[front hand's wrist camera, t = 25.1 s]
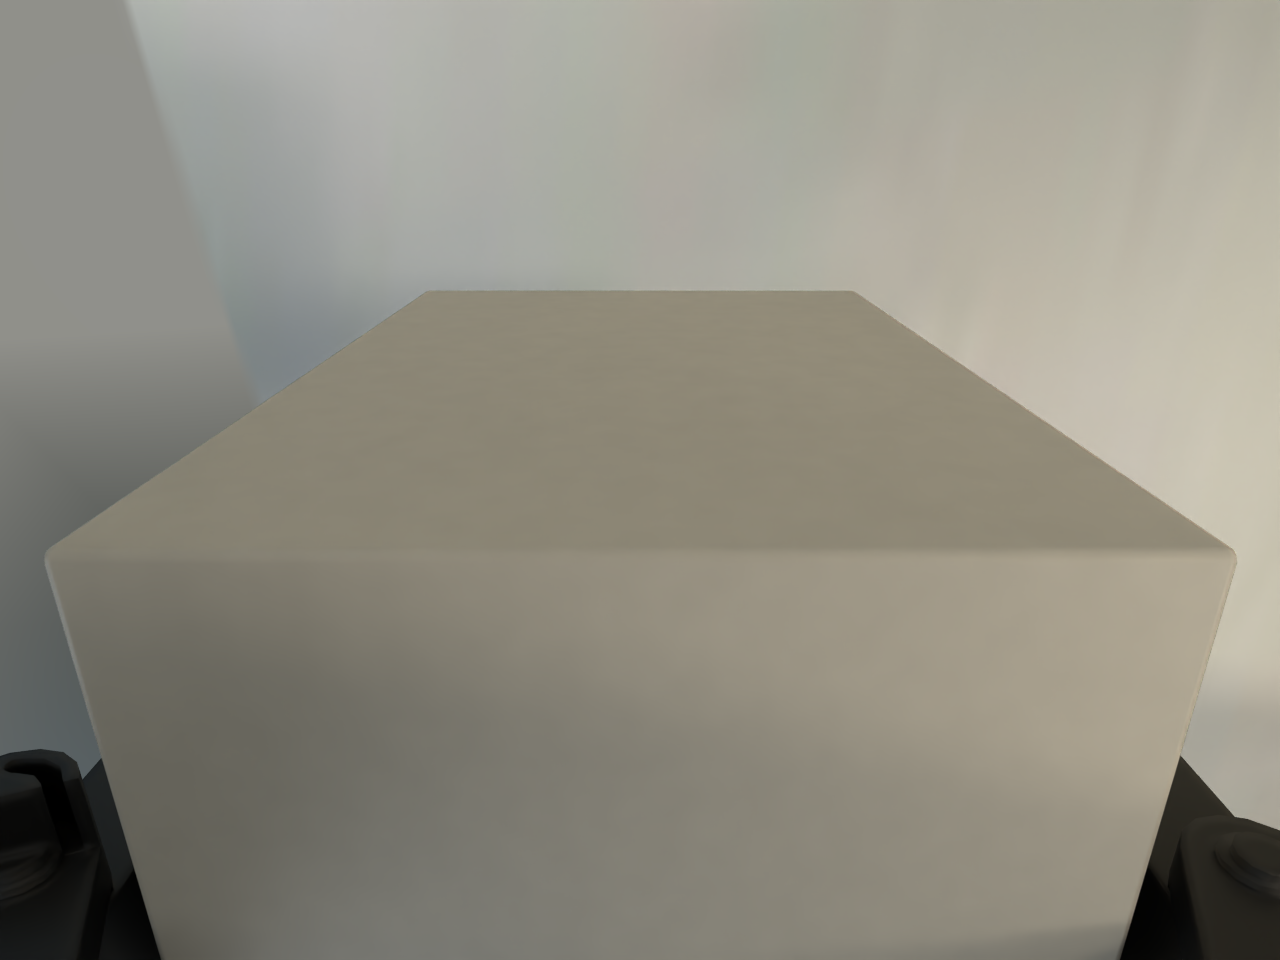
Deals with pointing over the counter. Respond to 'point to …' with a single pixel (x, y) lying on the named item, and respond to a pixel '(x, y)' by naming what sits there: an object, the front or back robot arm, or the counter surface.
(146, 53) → the counter surface
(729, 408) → the brick
